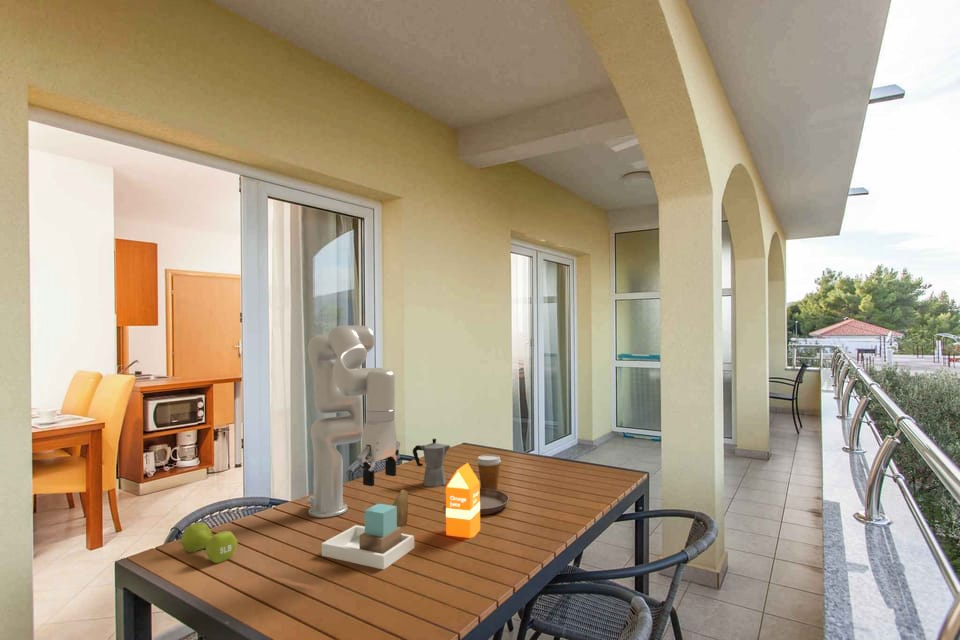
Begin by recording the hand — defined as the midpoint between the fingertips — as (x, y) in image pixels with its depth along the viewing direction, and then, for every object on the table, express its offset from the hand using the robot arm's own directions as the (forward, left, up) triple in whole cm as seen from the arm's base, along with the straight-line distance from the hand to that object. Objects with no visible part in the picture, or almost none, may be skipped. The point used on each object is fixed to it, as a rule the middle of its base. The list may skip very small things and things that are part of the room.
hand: (380, 480), depth 132 cm
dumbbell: (-44, -18, -21) cm, 52 cm away
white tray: (-4, 0, -20) cm, 20 cm away
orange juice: (+13, +23, -20) cm, 33 cm away
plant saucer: (+7, +47, -21) cm, 52 cm away
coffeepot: (-22, +64, -20) cm, 70 cm away
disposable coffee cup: (+2, +67, -20) cm, 70 cm away
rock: (-10, +22, -20) cm, 31 cm away
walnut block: (0, 0, -19) cm, 19 cm away
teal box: (0, 0, -13) cm, 13 cm away
